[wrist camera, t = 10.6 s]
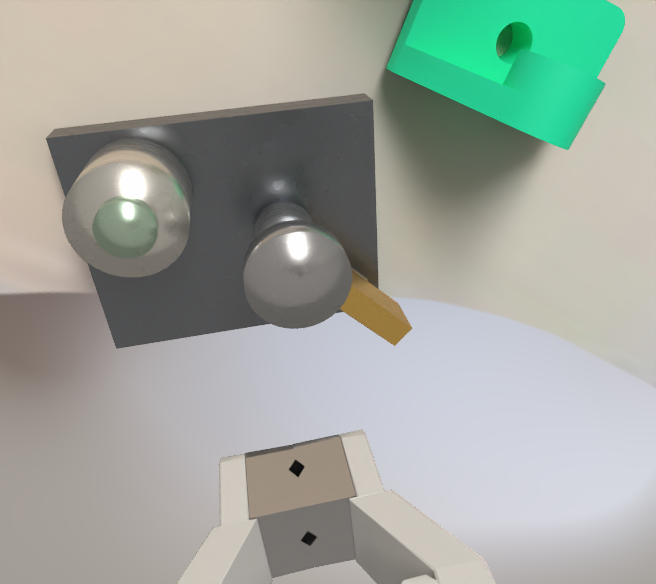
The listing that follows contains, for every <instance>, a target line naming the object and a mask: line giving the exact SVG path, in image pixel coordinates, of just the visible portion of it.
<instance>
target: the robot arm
mask: <svg viewBox="0 0 656 584" xmlns="http://www.w3.org/2000/svg"><path fill="white" fill-rule="evenodd" d="M219 481H220V482H219V487H220V526H219V527H215V528H212V530H211V531H210V533H209V534H208V536H207V537H206V539H205V541H204V542H203V544H202V545H201V547H200V548H199V550H198V551H197V553H196V554H195V556H194V558H193V559H192V561H191V562H190V564H189V565H188V567H187V568H186V570H185V572H184V573H183V575H182V576H181V578H180V579H179V581H178V582H177V584H271V583H272V578H274V577H278V576H282V575H286V574H290V573H294V572H297V571H302V570H306V569H310V568H313V567H319V566H324V565H328V564H334V563H339V562H344V561H349V560H354V559H356V562H357V563H358V564H359V565H360V566H361V567H362V568H363V569H364V570H365V571H366V572H367V573H368V574H369V575H370V577H371V578H372V579H373V580H374V581H375V582H376V583H377V584H496V583H495V581H494V579H493V577H492V574H491V572H490V570H489V568H488V566H487V564H486V561H485V559H483V558H482V557H480V556H479V555H478V554H476V553H475V552H474V551H473V550H471V549H470V548H468V547H467V546H466V545H465V544H463V543H462V542H461V541H459V540H458V539H457V538H455V537H454V536H453V535H451V534H450V533H448V532H447V531H446V530H444V529H443V528H442V527H441V526H439V525H438V524H437V523H435V522H434V521H433V520H431V519H430V518H429V517H427V516H426V515H425V514H423V513H422V512H420V511H419V510H418V509H417V508H415V507H414V506H413V505H411V504H410V503H409V502H407V501H406V500H405V499H403V498H402V497H401V496H399V495H398V494H397V493H395V492H394V491H393V490H387V491H384V488H383V485H382V482H381V479H380V476H379V473H378V470H377V467H376V464H375V461H374V458H373V455H372V452H371V449H370V446H369V443H368V440H367V437H366V434H365V432H364V431H363V430H358V431H354V432H348V433H344V434H340V435H334V436H329V437H324V438H320V439H315V440H310V441H306V442H301V443H296V444H293V445H288V446H283V447H277V448H271V449H266V450H260V451H254V452H249V453H246V454H240V455H234V456H228V457H223V458H221V459H220V464H219ZM313 564H314V565H313Z"/></svg>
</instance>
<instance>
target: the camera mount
mask: <svg viewBox="0 0 656 584" xmlns="http://www.w3.org/2000/svg"><path fill="white" fill-rule="evenodd" d="M508 24H510V26H511V28H512V33H513V37H512V42H511V45H510V47H509V48H508V50H507V51H506V52H505V53H504V54H503V55H501V56H499V57H498V55H497V51H496V42H497V38H498V36H499V34H500V32H501V31H502V30H503V29H504V28H505V27H506V26H507V25H508ZM624 25H625V16H624V13H623V11H622V10H621V9H620V8H619V7H617V6H616V5H614V4H612V3H610V2H608V1H606V0H413V2H412V5H411V7H410V10H409V12H408V15H407V17H406V20H405V22H404V25H403V27H402V30H401V32H400V35H399V37H398V40H397V42H396V45H395V47H394V50H393V52H392V55H391V57H390V60H389V62H388V65H387V67H386V69H388V70H390V71H392V72H394V73H396V74H398V75H400V76H402V77H405V78H407V79H409V80H411V81H413V82H415V83H418V84H420V85H422V86H424V87H426V88H428V89H431V90H433V91H435V92H437V93H439V94H442V95H444V96H446V97H448V98H450V99H452V100H455V101H457V102H459V103H461V104H463V105H465V106H468V107H470V108H472V109H474V110H476V111H479V112H481V113H483V114H485V115H487V116H489V117H492V118H494V119H496V120H498V121H500V122H502V123H505V124H507V125H509V126H511V127H513V128H516V129H518V130H520V131H522V132H525V133H527V134H529V135H532V136H534V137H536V138H539V139H541V140H543V141H546V142H548V143H551V144H553V145H556V146H558V147H561V148H563V149H566V150H569V148H570V146H571V144H572V142H573V141H574V139H575V137H576V135H577V134H578V132H579V130H580V128H581V127H582V125H583V123H584V121H585V120H586V118H587V116H588V114H589V113H590V111H591V109H592V107H593V106H594V104H595V102H596V100H597V99H598V97H599V95H600V93H601V92H602V90H603V88H604V86H605V85H606V84H605V83H604V82H602V81H601V80H599V79H597V76H598V75H599V73H600V71H601V69H602V68H603V66H604V64H605V62H606V60H607V59H608V57H609V55H610V53H611V51H612V50H613V48H614V46H615V44H616V43H617V41H618V39H619V37H620V35H621V34H622V32H623V29H624Z"/></svg>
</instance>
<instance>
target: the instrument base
mask: <svg viewBox="0 0 656 584" xmlns="http://www.w3.org/2000/svg"><path fill="white" fill-rule="evenodd" d="M46 140H47V143H48V146H49V149H50V152H51V155H52V158H53V161H54V164H55V167H56V170H57V173H58V176H59V179H60V182H61V185H62V188H63V191H64V194H65V197H66V198H65V201H64V204H63V209H62V222H63V228H64V231H65V234H66V237H67V239H68V241H69V243H70V244H71V246H72V247H73V249H74V250H75V251H76V253H77V254H78V255H79V256H80V257H81V258H82V259H84V260H85V261H86V262H87V263H88V265H89V268H90V271H91V274H92V277H93V280H94V283H95V286H96V289H97V292H98V295H99V298H100V301H101V304H102V307H103V310H104V313H105V316H106V319H107V322H108V325H109V328H110V331H111V334H112V337H113V340H114V343H115V346H116V348H123V347H129V346H135V345H141V344H147V343H154V342H160V341H166V340H172V339H178V338H184V337H190V336H197V335H203V334H209V333H215V332H221V331H228V330H234V329H239V328H246V327H252V326H258V325H265V324H271V323H269V322H267V321H265V320H264V319H262V318H261V317H259V316H258V315H257V314H256V313H255V312H254V310H253V309H252V308H251V306H250V305H249V303H248V301H247V298H246V295H245V291H244V281H243V271H242V268H243V260H244V256H245V254H246V251H247V249H248V247H249V245H250V244H251V243H252V241H253V240H254V239H255V238H256V237H255V222H256V219H257V217H258V215H259V214H260V213H261V211H262V210H263V209H264V208H266V207H267V206H269V205H271V204H273V203H276V202H280V201H289V202H293V203H296V204H298V205H300V206H302V207H303V208H304V209H305V210H306V211H307V212H308V214H309V216H310V218H311V220H312V222H314V223H317V224H319V225H322V226H324V227H325V228H327V229H328V230H330V231H331V232H332V233H333V234H334V235H335V236H336V237H337V238H338V240H339V241H340V243H341V245H342V247H343V249H344V251H345V253H346V255H347V257H348V260H349V262H350V265H351V268H352V270H353V271H354V272H355V273H357V274H358V275H360V276H361V277H362V278H364V279H365V280H367V281H368V282H369V283H371V284H372V285H373V286H375V287H376V288H378V257H377V223H376V189H375V154H374V120H373V100H372V99H371V98H369V97H368V96H367V95H366V94H358V95H349V96H340V97H331V98H323V99H314V100H305V101H296V102H288V103H279V104H270V105H261V106H253V107H244V108H235V109H226V110H218V111H209V112H200V113H192V114H183V115H174V116H165V117H157V118H148V119H139V120H130V121H122V122H113V123H104V124H95V125H87V126H78V127H69V128H60V129H54V130H53V131H52V132H51V133H50V135H49V136H48V137H47V138H46ZM339 312H344V311H342V310H341V309H339V310H338V311H337V312H336V313H339Z"/></svg>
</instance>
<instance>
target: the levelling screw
mask: <svg viewBox="0 0 656 584" xmlns="http://www.w3.org/2000/svg"><path fill="white" fill-rule="evenodd" d="M255 237H256V238H255V239H254V240H253V241H252V243H251V244H250V245H249V247H248V249H247V251H246V254H245V256H244V260H243V268H242V271H243V281H244V291H245V295H246V298H247V301H248V303H249V305H250V306H251V308H252V309H253V310H254V312H255V313H256V314H257V315H258V316H259V317H261V318H262V319H264V320H265V321H267V322H269V323H271V324H273V325H276V326H279V327H283V328H305V327H309V326H313V325H316V324H318V323H320V322H323V321H325V320H326V319H328V318H329V317H331V316H332V315H333V314H335V313H336V312H337V311H338V310H339V309H341V310H342V311H344V312H345V313H347V314H348V315H350V316H351V317H352V318H354V319H355V320H357V321H358V322H360V323H361V324H363V325H364V326H366V327H367V328H369V329H370V330H372V331H373V332H375V333H376V334H378V335H379V336H381V337H382V338H384V339H385V340H387V341H388V342H390V343H391V344H393V345H396V344H397V343H398V342H399V341H400V340H401V339H402V338H403V337H404V336H405V335H406V334H407V333H408V332H409V331H410V330H411V329H412V327H411V325H410V323H409V322H408V320H407V318H406V317H405V315H404V313H403V311H402V309H401V307H400V306H399V304H398V303H397V302H395V301H394V300H393V299H391V298H390V297H389V296H387V295H386V294H384V293H383V292H382V291H380V290H379V289H378V288H376V287H375V286H373V285H372V284H371V283H369V282H368V281H367V280H365V279H364V278H362V277H361V276H360V275H358V274H357V273H355V272H354V271H353V270H352V268H351V265H350V262H349V260H348V257H347V255H346V253H345V251H344V249H343V247H342V245H341V243H340V241H339V240H338V238H337V237H336V236H335V235H334V234H333V233H332V232H331V231H330V230H328V229H327V228H325V227H324V226H322V225H319V224H317V223H314V222H312V220H311V218H310V216H309V214H308V212H307V211H306V210H305V209H304V208H303V207H302V206H300V205H298V204H296V203H293V202H289V201H280V202H276V203H273V204H271V205H269V206H267V207H266V208H264V209H263V210H262V211H261V213H260V214H259V215H258V217H257V219H256V222H255Z"/></svg>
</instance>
